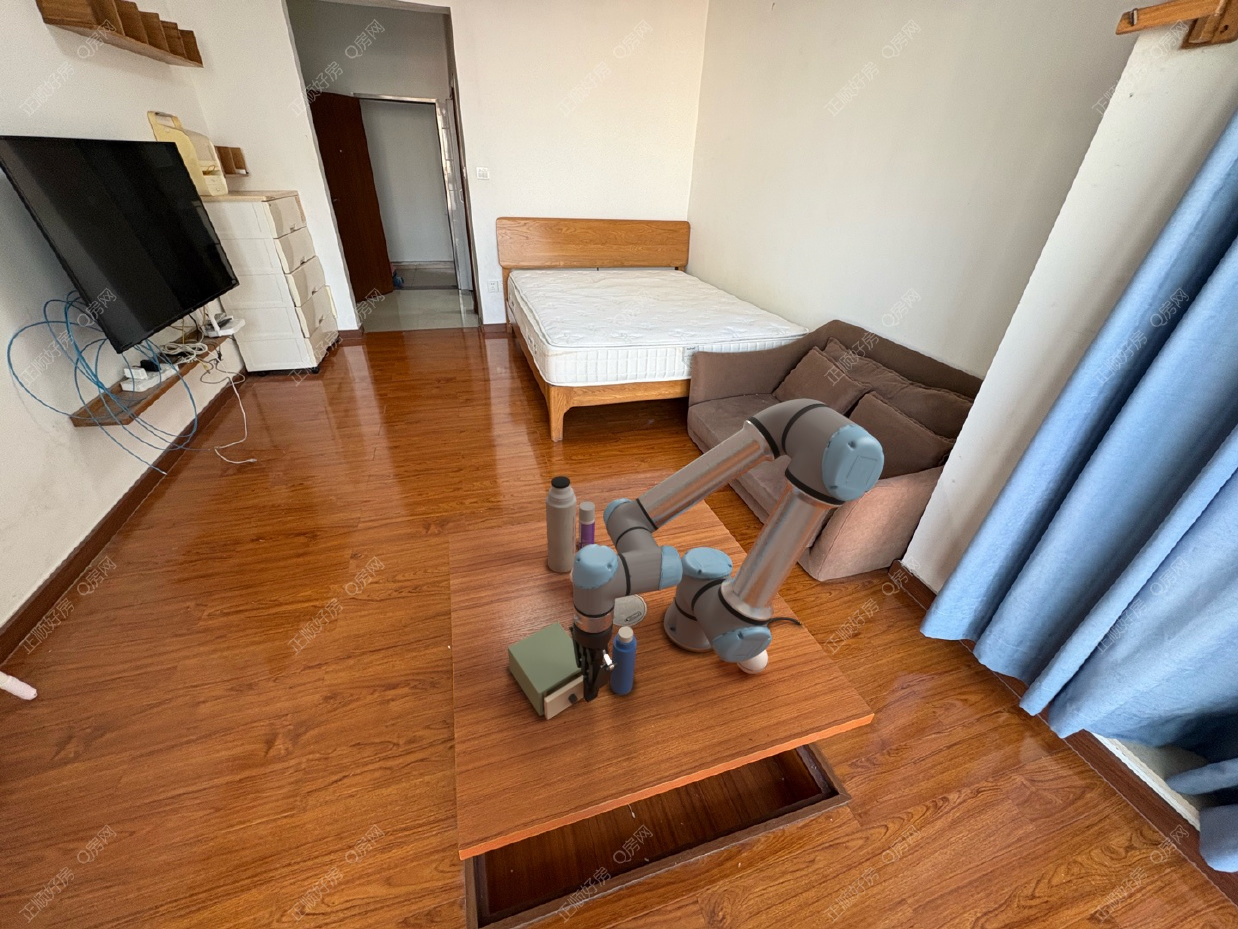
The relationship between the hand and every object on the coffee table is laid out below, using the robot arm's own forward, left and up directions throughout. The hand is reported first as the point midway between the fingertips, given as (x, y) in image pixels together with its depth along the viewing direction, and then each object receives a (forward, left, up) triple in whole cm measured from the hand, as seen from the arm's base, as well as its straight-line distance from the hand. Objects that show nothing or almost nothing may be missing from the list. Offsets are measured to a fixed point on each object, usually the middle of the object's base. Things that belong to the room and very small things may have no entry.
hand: (590, 697), depth 105 cm
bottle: (-5, -7, -3) cm, 9 cm away
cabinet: (+11, -3, -3) cm, 12 cm away
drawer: (+8, -1, -2) cm, 9 cm away
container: (+19, -47, -3) cm, 51 cm away
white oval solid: (-32, -20, -3) cm, 38 cm away
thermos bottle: (+23, -38, -3) cm, 45 cm away
